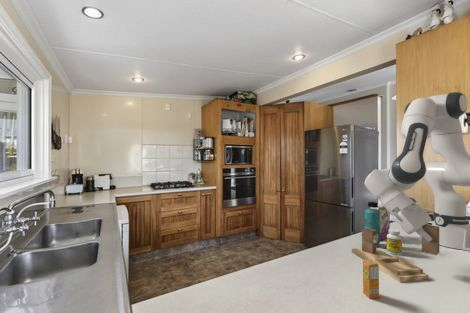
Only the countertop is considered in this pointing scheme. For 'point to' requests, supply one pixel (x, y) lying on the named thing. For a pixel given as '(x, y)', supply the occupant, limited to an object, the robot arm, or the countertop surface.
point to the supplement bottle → (394, 242)
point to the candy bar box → (383, 220)
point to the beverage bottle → (373, 219)
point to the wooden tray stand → (387, 259)
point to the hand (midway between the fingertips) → (433, 238)
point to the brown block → (432, 245)
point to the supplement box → (371, 279)
